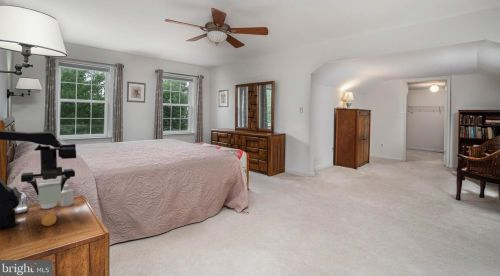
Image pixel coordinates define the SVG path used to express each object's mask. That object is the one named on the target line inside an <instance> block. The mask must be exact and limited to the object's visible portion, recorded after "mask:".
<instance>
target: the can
mask: <svg viewBox="0 0 500 276" xmlns="http://www.w3.org/2000/svg"><path fill="white" fill-rule="evenodd" d="M57 203H58V202H57ZM57 203H51V204H45V205H40V209H42V210H50V209H54V208H55V207H56V206H57V205H58V204H57Z"/></svg>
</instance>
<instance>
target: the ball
mask: <svg viewBox="0 0 500 276" xmlns="http://www.w3.org/2000/svg"><path fill="white" fill-rule="evenodd" d="M56 222H57V216H56V215H55V214H53V213H47V214H45V215H44V216H42V218H41V224H42V225H43V226H44V227H45V226H46V227H51V226H53V225H54V224H56Z"/></svg>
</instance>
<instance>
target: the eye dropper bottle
mask: <svg viewBox="0 0 500 276" xmlns="http://www.w3.org/2000/svg"><path fill="white" fill-rule="evenodd" d="M73 204H74V190H73V189H71V188H70V184H68V182H65V184H64V187H63V189H62V192H61V202H60V207H61V208H62V207H63V208H65V207H69V206H72V205H73Z"/></svg>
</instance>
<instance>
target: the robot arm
mask: <svg viewBox="0 0 500 276" xmlns="http://www.w3.org/2000/svg"><path fill="white" fill-rule="evenodd" d="M0 141H13V142H29V143H32V144H37V147H35V148H34V151H39V153H40V154H39V155H40V156H39V157H40V173H34V172H22V174H20V175H21V176H20V182H21V183H27V184H30V185H32V187H33V189H34V191H35V193H36V195H37V196H39V191H38V183H37V179H42V180H43V181H46V180H56V179H57V178H58V177H60V184H61V192H62V191H63V190H64V185H65V183H67V181H68V180H70V179H71V178H73V177H76V171H75V170H74V169H73V168H67V169H65V168H64V169H63V166H58V158H60V159H61V160H70V159H71V160H72V159H77V150H76V143H72V144H71V143H70V144H62V143H61V142H60V141H59V140H58V139H57V136H56V133H54V132H52V131H35V132H28V131H27V132H25V131H13V130H2V129H1V130H0ZM57 155H58V156H57ZM22 198H23V197H22V192H20V191H19V189H18V188H17V186H14V187H13V188H11V187H10V186H8V185H7V184H6V182H4V180H3V179H2V178H1V177H0V231H4V230H7V229H9V228H12V227H15V226H18V225H20V224H21V222H19V221H16V218H17V217H16V210H15V209H17V207H18V206H19V205H20V203H21V202H22Z"/></svg>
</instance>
